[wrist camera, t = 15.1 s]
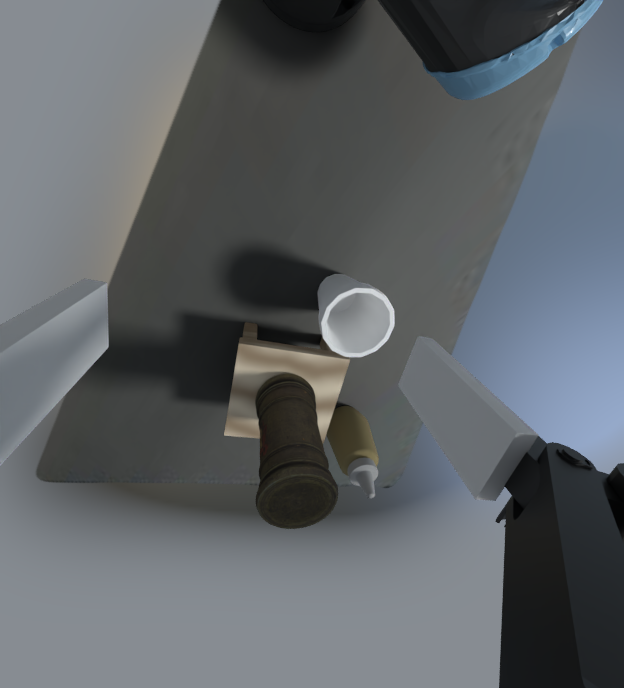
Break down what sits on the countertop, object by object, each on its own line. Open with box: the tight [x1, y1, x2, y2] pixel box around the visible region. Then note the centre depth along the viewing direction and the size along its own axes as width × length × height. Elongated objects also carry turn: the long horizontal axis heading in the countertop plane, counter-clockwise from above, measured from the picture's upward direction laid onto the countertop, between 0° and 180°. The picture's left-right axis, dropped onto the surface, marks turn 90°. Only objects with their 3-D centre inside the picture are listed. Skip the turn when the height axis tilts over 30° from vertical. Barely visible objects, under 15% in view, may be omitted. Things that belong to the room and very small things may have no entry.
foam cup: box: [317, 274, 394, 357], centre depth 47 cm, size 10×9×13 cm
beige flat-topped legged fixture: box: [224, 322, 350, 444], centre depth 53 cm, size 16×16×9 cm
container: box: [255, 373, 338, 529], centre depth 41 cm, size 9×9×18 cm
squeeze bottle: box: [327, 406, 379, 498], centre depth 56 cm, size 8×8×18 cm
